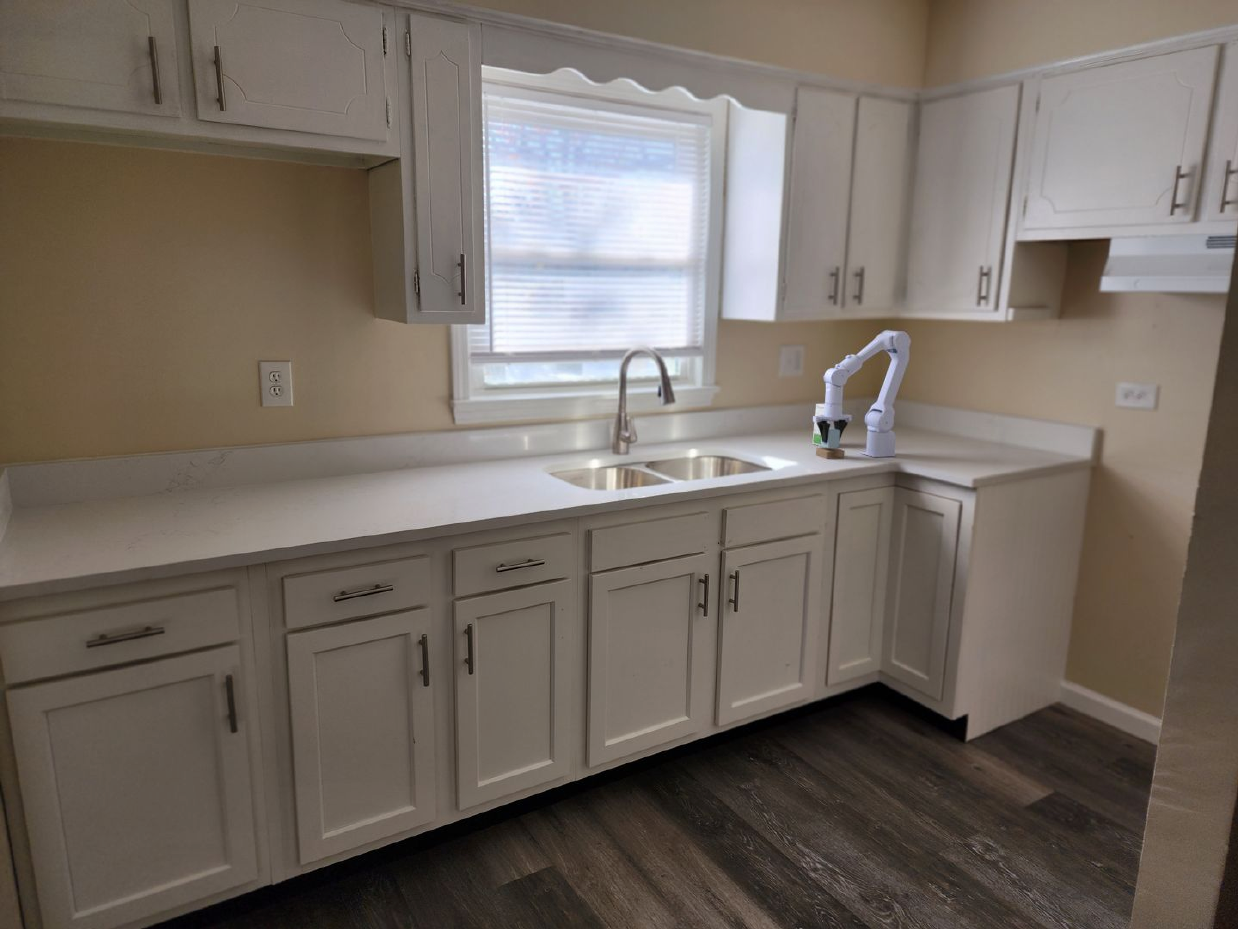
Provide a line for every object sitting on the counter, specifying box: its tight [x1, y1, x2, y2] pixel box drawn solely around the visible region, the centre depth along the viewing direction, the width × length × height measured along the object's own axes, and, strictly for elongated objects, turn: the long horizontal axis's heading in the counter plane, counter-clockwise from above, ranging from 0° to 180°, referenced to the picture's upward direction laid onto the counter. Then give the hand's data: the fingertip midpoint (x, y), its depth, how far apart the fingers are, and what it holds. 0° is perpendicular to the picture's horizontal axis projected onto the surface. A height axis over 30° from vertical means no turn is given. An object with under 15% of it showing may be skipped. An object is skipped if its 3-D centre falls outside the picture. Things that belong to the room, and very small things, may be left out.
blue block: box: [820, 428, 841, 448], centre depth 285 cm, size 4×4×6 cm
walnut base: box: [815, 447, 846, 460], centre depth 287 cm, size 7×7×3 cm
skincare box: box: [812, 403, 844, 448], centre depth 306 cm, size 8×7×16 cm
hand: (830, 441), depth 285 cm, fingers closed on blue block, 4 cm apart
